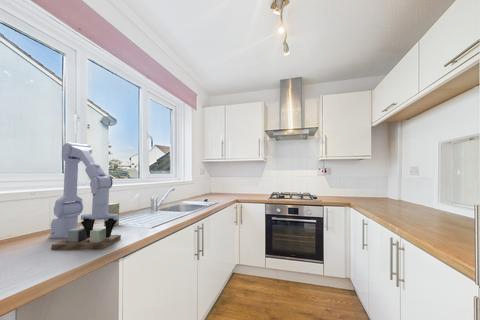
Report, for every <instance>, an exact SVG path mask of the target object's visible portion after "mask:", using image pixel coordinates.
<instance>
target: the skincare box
mask: <svg viewBox="0 0 480 320" xmlns="http://www.w3.org/2000/svg"><path fill="white" fill-rule="evenodd" d="M108 214H119V215H120V203H119V202H112V203H109V204H108ZM107 220H108V219H103V227H106V226H105V221H107ZM119 220H120V218H119V219H117V222H116V223H115V225H114V226H117V225H119V222H120V221H119Z"/></svg>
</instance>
